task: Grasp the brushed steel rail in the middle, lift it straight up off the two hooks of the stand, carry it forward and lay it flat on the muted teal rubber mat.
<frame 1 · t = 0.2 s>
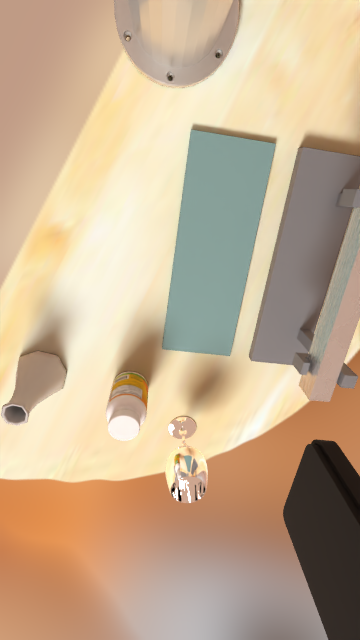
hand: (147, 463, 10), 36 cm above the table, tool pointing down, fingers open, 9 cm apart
teal mat: (212, 256, 44), on the table
wineglass: (182, 426, 54), on the table
steel rail: (339, 289, 36), point 10 cm above the table, touching rail stand
rail stand: (299, 267, 45), on the table
flask: (42, 371, 49), on the table
supplement bottle: (130, 385, 51), on the table
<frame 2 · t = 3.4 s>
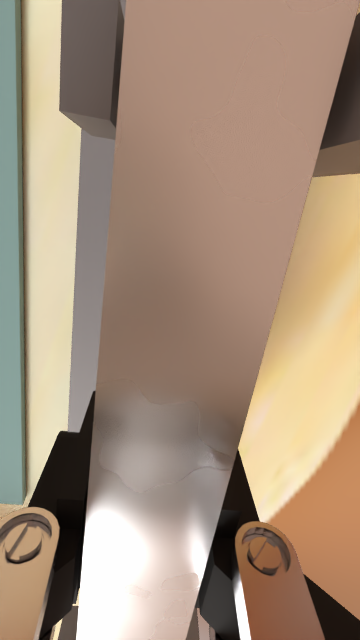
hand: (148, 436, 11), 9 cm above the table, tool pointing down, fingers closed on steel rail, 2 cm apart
steel rail: (147, 468, 10), point 11 cm above the table, touching gripper, rail stand
rail stand: (149, 326, 19), on the table
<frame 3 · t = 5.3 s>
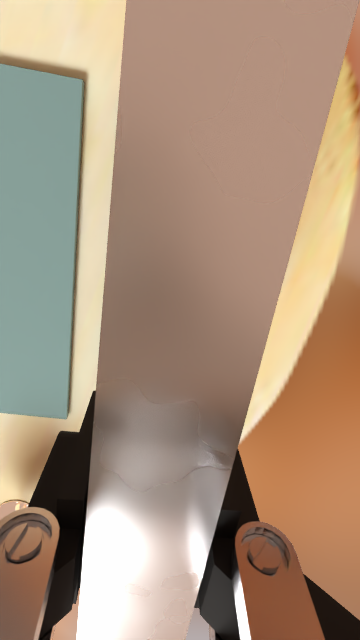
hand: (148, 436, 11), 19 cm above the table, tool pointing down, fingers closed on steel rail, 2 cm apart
teal mat: (13, 268, 28), on the table
wineglass: (18, 513, 37), on the table
steel rail: (147, 468, 10), point 20 cm above the table, touching gripper
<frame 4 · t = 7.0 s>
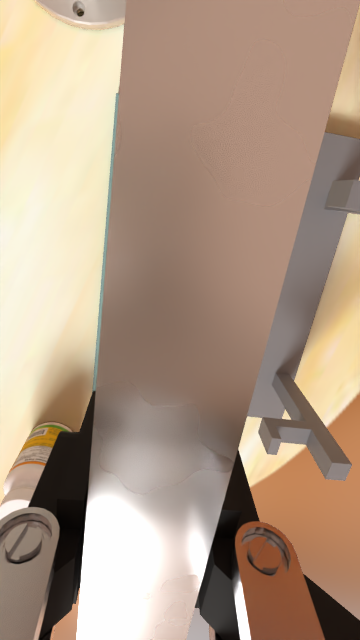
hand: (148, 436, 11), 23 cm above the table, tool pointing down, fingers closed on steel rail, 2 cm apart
teal mat: (155, 274, 32), on the table
steel rail: (147, 470, 10), point 24 cm above the table, touching gripper
rail stand: (275, 291, 33), on the table
supplement bottle: (54, 438, 39), on the table
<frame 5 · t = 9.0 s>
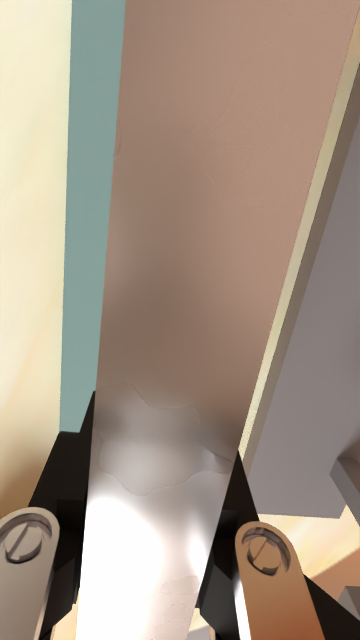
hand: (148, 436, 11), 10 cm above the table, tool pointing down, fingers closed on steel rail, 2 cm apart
teal mat: (152, 313, 20), on the table
steel rail: (146, 470, 10), point 11 cm above the table, touching gripper
rail stand: (341, 337, 21), on the table
when the fingers open (2 cm above the table, at t = 10.6 s): steel rail drops 2 cm, resting on teal mat.
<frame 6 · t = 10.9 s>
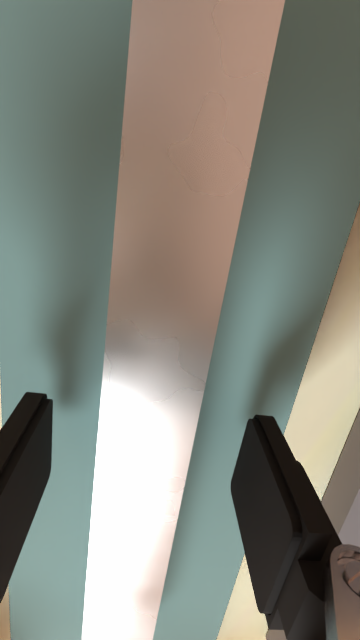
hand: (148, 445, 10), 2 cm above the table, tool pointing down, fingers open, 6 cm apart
teal mat: (150, 405, 12), on the table
steel rail: (144, 415, 12), point 1 cm above the table, touching teal mat
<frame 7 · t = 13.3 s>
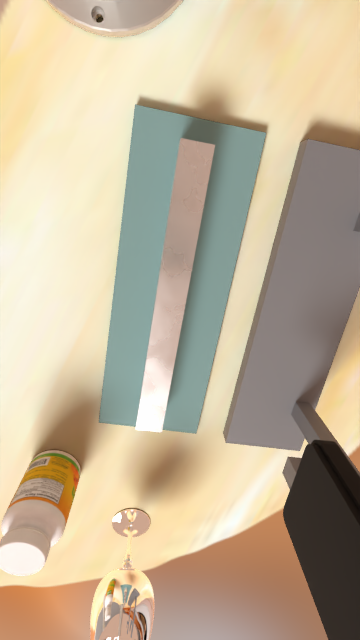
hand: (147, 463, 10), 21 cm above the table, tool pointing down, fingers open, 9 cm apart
teal mat: (170, 295, 30), on the table
wineglass: (131, 521, 39), on the table
steel rail: (168, 297, 29), point 1 cm above the table, touching teal mat
rail stand: (297, 315, 31), on the table
supplement bottle: (56, 466, 36), on the table
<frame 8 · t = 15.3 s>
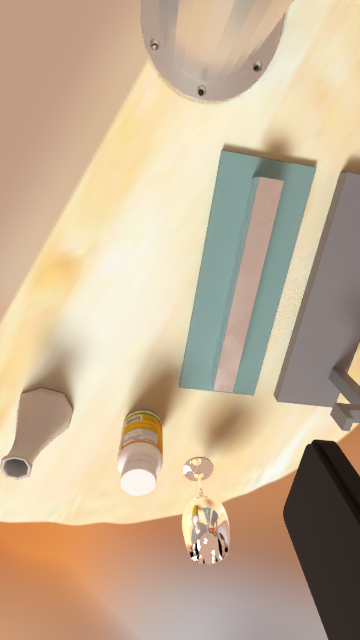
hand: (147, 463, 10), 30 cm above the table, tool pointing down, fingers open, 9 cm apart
teal mat: (239, 288, 40), on the table
wineglass: (197, 468, 50), on the table
steel rail: (238, 289, 39), point 1 cm above the table, touching teal mat
rail stand: (333, 301, 41), on the table
flask: (46, 409, 45), on the table
supplement bottle: (142, 424, 46), on the table
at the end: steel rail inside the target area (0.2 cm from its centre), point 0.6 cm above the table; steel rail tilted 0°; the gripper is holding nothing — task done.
